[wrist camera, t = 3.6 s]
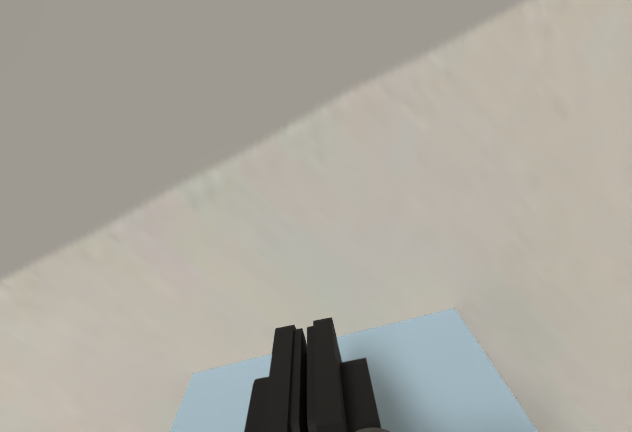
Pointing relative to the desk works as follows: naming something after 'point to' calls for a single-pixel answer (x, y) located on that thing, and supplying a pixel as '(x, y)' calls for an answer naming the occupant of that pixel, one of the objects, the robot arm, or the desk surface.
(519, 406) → the carton
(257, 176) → the desk surface
